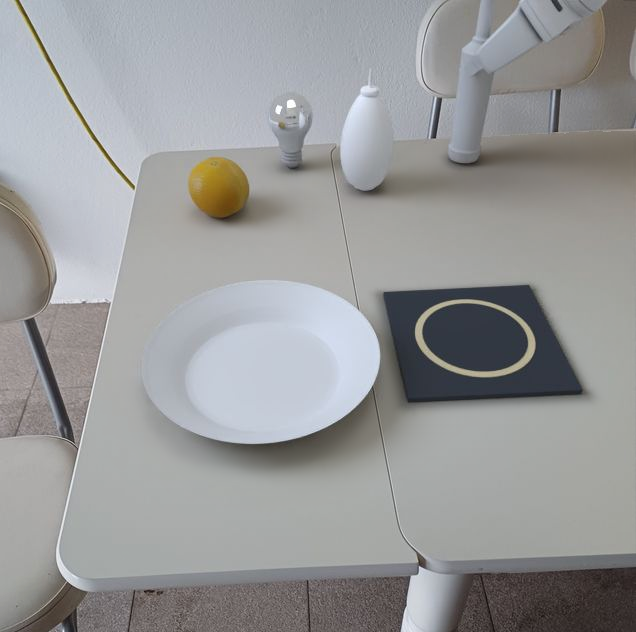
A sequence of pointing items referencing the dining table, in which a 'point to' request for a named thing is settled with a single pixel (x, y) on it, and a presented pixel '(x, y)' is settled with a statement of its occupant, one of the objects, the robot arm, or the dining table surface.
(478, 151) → the bottle
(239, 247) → the dining table surface
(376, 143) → the sauce bottle
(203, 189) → the fruit
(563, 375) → the mat
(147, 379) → the white plate
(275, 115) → the light bulb
